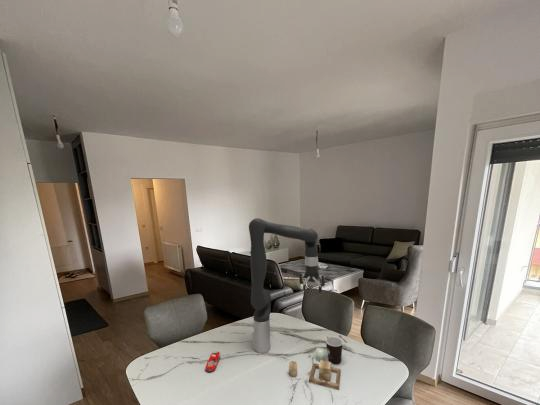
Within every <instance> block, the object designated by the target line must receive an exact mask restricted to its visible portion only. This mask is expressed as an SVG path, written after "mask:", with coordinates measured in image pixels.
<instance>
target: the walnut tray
mask: <svg viewBox="0 0 540 405" xmlns="http://www.w3.org/2000/svg"><path fill="white" fill-rule="evenodd" d="M319 364H320V363H315V362H312V364H311V365H312V366H311V370H310V374H309V377H308V383H309V384H313V385H316V386H317V385H318V386H322V387H326V388H331V389H334V390H338V391H339V390H340V382H341V372H342V371H341V368H337V367H334V366H333V367H332V366H331V373H334V374H336V379H335V382H333V381H330V382H329V381H325V380H320V379H319V378H316V377H314V376H315V373H316V370H319Z"/></svg>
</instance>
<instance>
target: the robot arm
mask: <svg viewBox="0 0 540 405" xmlns="http://www.w3.org/2000/svg"><path fill="white" fill-rule="evenodd" d="M248 232H249V237H250V239H249V240H250V275H251V279H250V280H251V288H250V292H251V293H250V303H251V306H252V308H253V309H254V313H253V332H252V350H253V351H255V352H256V353H258V354H265V353H268V352H269V351H271V324H270V315H271V309H272V308H271V306H272V305H271V304H272V302H271V301H272V300H271V299H272V298H271V295H270V292H269V291H268V290H267V289H265V288H264V284H265V279H266V275H267V269H268V268H267V267H268V265H267V264H268V263H267V252H266V249H265V234H270V235H271V234H272V235H275V236H276V235H277V236H280V237H283V238H288V239H294V240H299V241H302V242H303V241H304V248H305V250H304V255H305V256H304V269H305V270H304V273H303V272H300V274H299V284H300V285H302V291H304V292H306V291H307V283H308V282H310V283H311V282H312V283H316V284H317V285H318V294H321V293H322V291H323V290H322V287H325V285H326V281H325V279H326V278H325V275H324V274H320V272H319V257H318V247H317V240H318V238H319V235H318V232H317V231H316V230H315V229H312V228H307V229H306V228H302V227H298V226H294V225H288V224H279V223H274V222H270V221H267V220H265V219H262V218H257V217H256V218H254V219H251V221H250V222H249V223H248ZM304 277H305V280H304V279H303V278H304ZM319 278H320V279H319ZM303 280H304V281H303ZM320 280H321V281H320Z"/></svg>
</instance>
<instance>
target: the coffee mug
mask: <svg viewBox="0 0 540 405" xmlns="http://www.w3.org/2000/svg"><path fill="white" fill-rule="evenodd" d="M343 342H344V341H343V340H342V339H341V338H339V337H338V336H326V338H325V344H326V345H325V347H326V351H327V352H326V353H327V359H328V362H331V365H332V364H333V365H336V366H337V365H340V364H341V363H342V355H343V354H342V353H343Z"/></svg>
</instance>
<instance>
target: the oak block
mask: <svg viewBox="0 0 540 405" xmlns="http://www.w3.org/2000/svg"><path fill="white" fill-rule="evenodd" d="M318 364H319V369H318V379H320V380H325V381H329V382H331V380H330V379H332V372H331V367H332V363H331V362H329V361H327V360H325V361H322V360H320V362H319V363H318Z"/></svg>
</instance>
